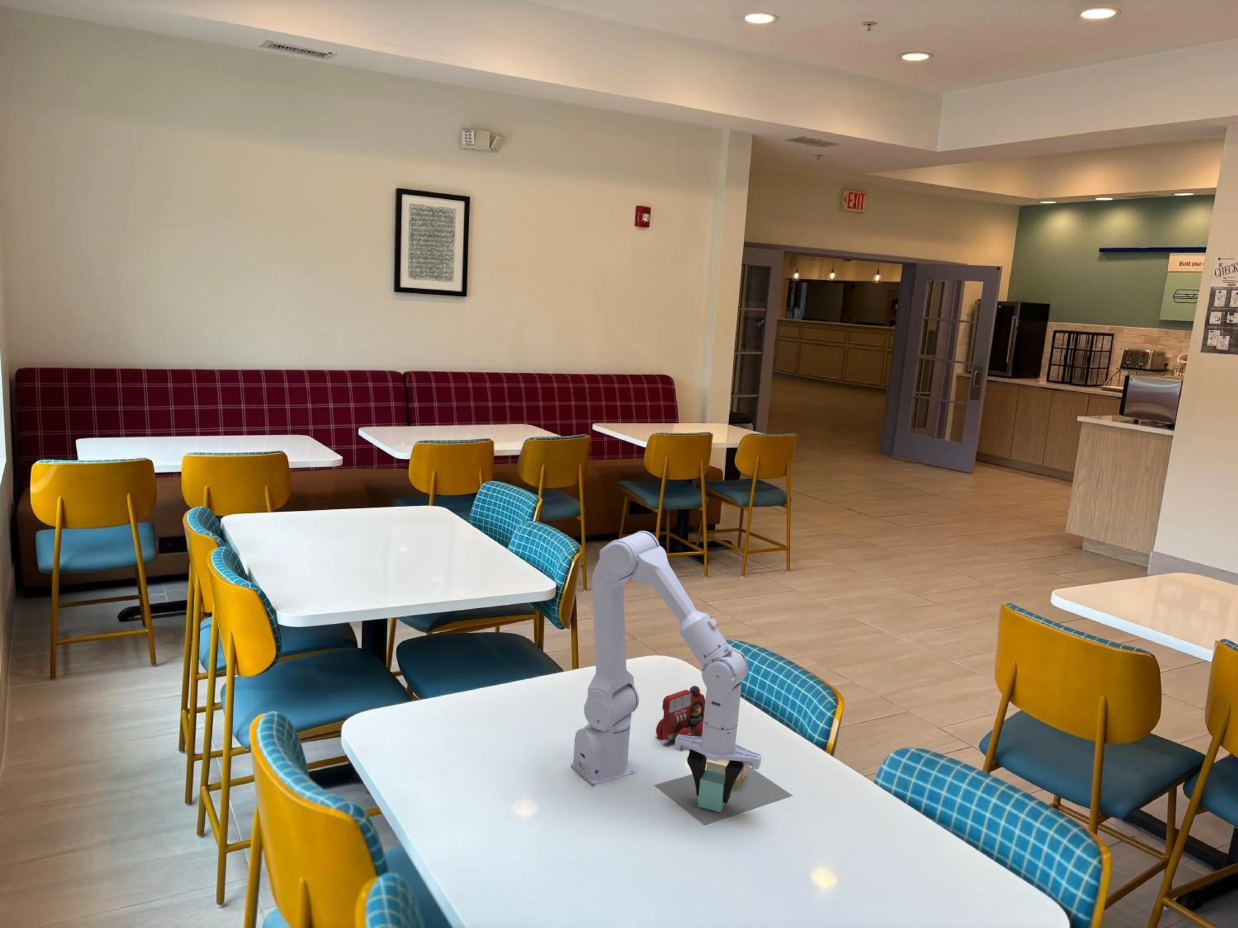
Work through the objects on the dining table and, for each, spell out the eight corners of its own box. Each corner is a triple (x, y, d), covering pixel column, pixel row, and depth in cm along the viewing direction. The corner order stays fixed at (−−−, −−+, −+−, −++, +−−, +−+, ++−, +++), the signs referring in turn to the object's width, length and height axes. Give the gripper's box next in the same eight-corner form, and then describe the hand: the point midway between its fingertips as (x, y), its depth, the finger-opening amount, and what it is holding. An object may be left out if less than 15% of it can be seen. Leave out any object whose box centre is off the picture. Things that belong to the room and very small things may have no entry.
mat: (704, 827, 153) (704, 824, 153) (653, 787, 164) (654, 784, 164) (792, 797, 164) (792, 795, 164) (739, 761, 175) (740, 759, 175)
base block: (737, 790, 164) (739, 769, 164) (704, 781, 166) (706, 761, 166) (745, 774, 170) (747, 754, 169) (713, 767, 172) (715, 746, 171)
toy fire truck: (718, 737, 185) (722, 688, 183) (674, 755, 176) (679, 704, 174) (692, 724, 190) (696, 676, 188) (648, 741, 181) (653, 691, 179)
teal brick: (720, 812, 156) (723, 784, 155) (697, 806, 158) (700, 778, 157) (726, 800, 160) (729, 774, 159) (704, 795, 161) (706, 768, 160)
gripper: (671, 721, 155) (665, 796, 157) (757, 741, 150) (749, 819, 152) (684, 705, 161) (677, 777, 164) (767, 724, 156) (758, 798, 159)
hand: (712, 796), depth 159 cm, fingers closed on teal brick, 4 cm apart
